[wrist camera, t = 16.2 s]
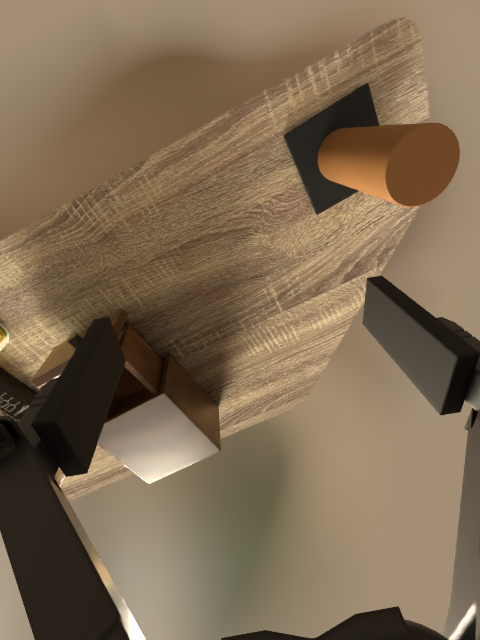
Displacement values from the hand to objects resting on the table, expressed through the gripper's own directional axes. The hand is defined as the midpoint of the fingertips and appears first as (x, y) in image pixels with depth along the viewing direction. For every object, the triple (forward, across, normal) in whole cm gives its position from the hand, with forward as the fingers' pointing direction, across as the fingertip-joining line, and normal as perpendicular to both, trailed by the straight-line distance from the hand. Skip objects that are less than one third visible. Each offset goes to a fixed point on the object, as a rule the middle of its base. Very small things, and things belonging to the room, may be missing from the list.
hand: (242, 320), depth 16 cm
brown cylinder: (+26, +15, +4) cm, 31 cm away
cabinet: (+27, -14, -29) cm, 42 cm away
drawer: (+26, -19, -19) cm, 37 cm away
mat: (+27, +15, +5) cm, 31 cm away
